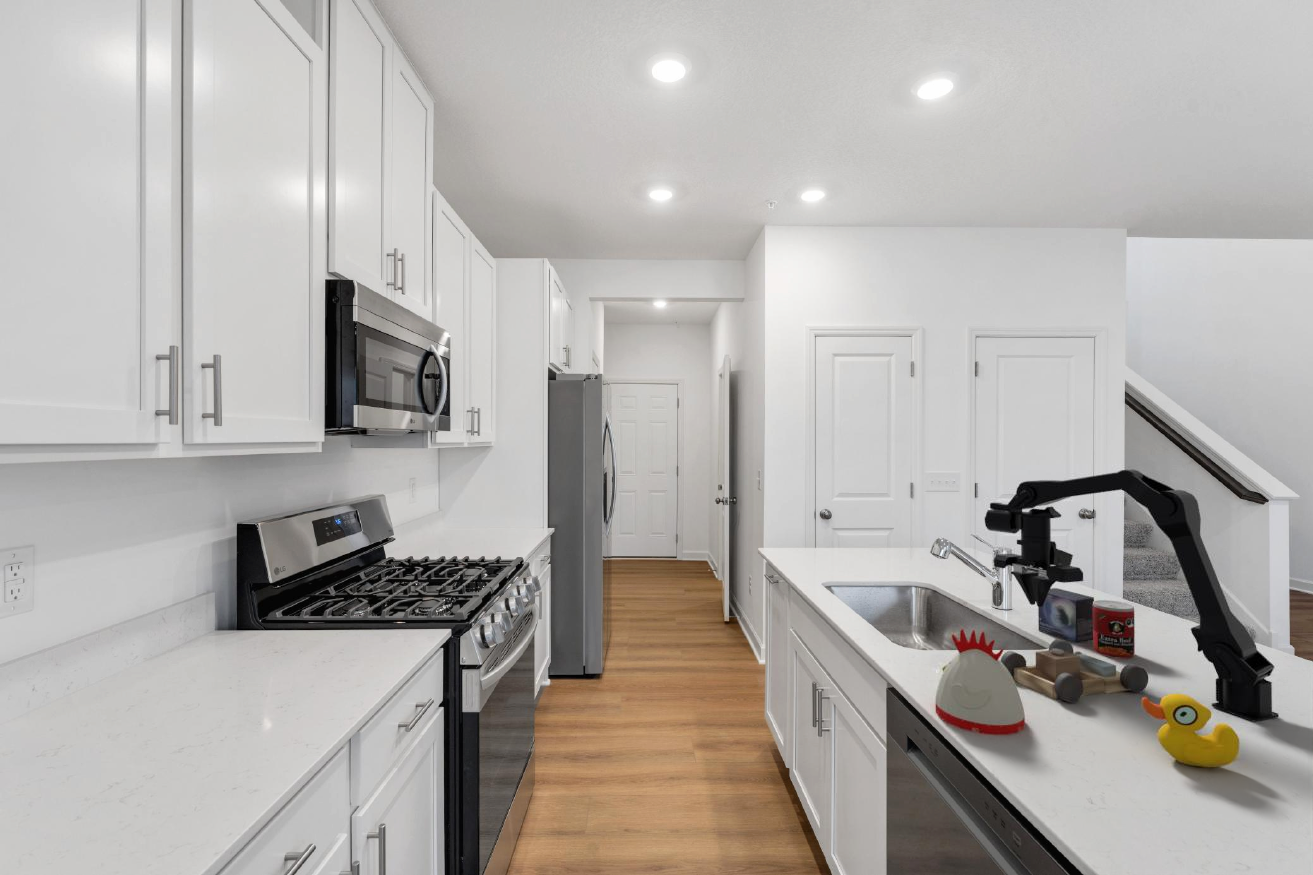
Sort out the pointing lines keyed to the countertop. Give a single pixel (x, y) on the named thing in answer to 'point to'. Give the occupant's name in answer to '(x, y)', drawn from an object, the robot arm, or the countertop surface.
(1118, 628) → the canned food
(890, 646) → the countertop surface
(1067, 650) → the wheel
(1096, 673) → the chassis
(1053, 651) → the block
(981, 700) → the kitchen timer
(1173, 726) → the duckling
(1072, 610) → the small box
